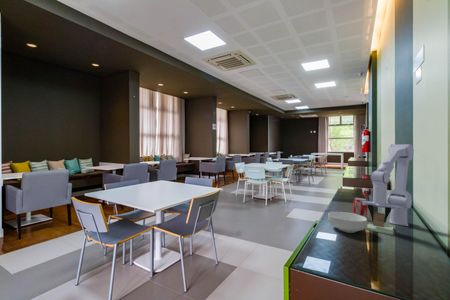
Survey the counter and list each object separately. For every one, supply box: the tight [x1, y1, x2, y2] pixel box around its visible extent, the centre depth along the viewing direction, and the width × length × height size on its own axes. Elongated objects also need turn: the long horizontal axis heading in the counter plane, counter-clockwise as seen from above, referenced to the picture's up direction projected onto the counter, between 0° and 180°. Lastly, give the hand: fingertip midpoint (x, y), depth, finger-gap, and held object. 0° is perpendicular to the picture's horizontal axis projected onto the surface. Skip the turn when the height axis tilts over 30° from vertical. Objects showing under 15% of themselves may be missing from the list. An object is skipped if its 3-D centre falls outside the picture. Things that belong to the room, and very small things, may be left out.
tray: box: [363, 220, 395, 236], centre depth 112 cm, size 12×12×1 cm
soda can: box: [352, 197, 368, 220], centre depth 127 cm, size 7×7×12 cm
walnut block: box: [372, 211, 385, 227], centre depth 112 cm, size 4×4×6 cm
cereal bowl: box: [327, 211, 368, 234], centre depth 109 cm, size 17×17×7 cm
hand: (378, 221), depth 112 cm, fingers closed on walnut block, 4 cm apart
